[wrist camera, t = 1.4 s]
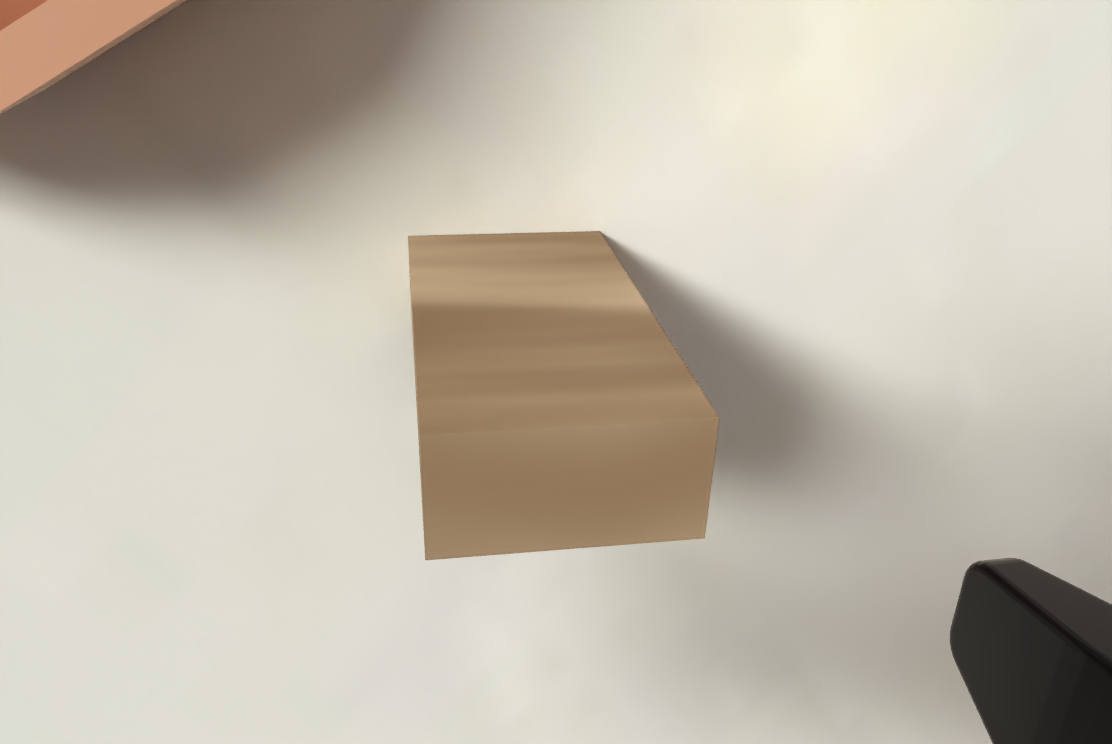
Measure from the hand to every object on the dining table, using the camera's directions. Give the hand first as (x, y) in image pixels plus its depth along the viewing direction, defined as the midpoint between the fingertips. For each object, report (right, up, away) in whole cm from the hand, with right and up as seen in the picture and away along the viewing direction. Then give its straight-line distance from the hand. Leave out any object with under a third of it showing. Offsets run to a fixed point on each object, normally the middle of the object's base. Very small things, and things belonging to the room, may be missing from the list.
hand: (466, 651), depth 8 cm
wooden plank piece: (0, +4, +12) cm, 13 cm away
